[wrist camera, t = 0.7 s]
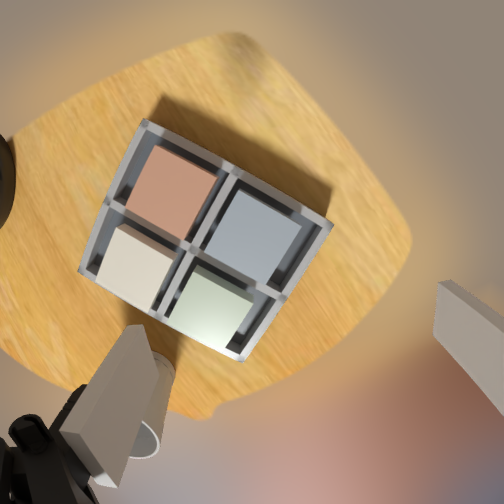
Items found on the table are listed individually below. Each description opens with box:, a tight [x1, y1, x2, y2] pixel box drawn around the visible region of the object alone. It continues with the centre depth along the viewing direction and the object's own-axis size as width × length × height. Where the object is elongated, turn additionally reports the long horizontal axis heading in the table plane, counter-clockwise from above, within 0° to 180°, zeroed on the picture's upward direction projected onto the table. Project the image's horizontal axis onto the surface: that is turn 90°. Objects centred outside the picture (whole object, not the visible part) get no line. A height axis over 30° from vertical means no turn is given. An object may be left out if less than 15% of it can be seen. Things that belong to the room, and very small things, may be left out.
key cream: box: [95, 223, 178, 313], centre depth 29 cm, size 6×6×2 cm
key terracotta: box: [125, 145, 219, 240], centre depth 27 cm, size 6×6×2 cm
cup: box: [129, 351, 175, 459], centre depth 32 cm, size 8×8×12 cm
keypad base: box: [78, 118, 334, 363], centre depth 31 cm, size 20×17×4 cm
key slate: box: [204, 189, 302, 285], centre depth 28 cm, size 6×6×2 cm
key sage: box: [166, 265, 254, 352], centre depth 30 cm, size 6×6×2 cm
